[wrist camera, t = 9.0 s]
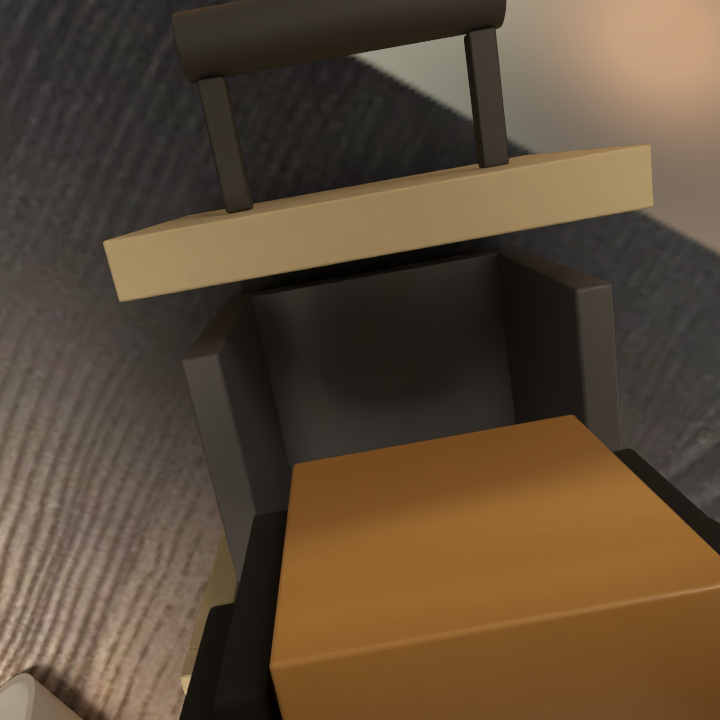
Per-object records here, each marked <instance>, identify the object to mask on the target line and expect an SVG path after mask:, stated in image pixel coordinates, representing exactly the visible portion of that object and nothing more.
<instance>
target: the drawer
mask: <svg viewBox="0 0 720 720" xmlns="http://www.w3.org/2000/svg"><path fill="white" fill-rule="evenodd" d="M505 12H506V0H243V1H237V2H232V3H226V4H220V5H215V6H209V7H203V8H198V9H192V10H187V11H181V12H175V13H173V14H172V29H173V35H174V40H175V45H176V49H177V53H178V56H179V60H180V63H181V66H182V68H183V71H184V73H185V76H186V77H187V79H188V81H189V82H191V83H195V82H197V85H198V90H199V94H200V99H201V103H202V107H203V112H204V116H205V121H206V125H207V130H208V134H209V139H210V143H211V148H212V152H213V157H214V161H215V166H216V170H217V175H218V179H219V184H220V188H221V193H222V197H223V202H224V206H225V209H222V210H216V211H211V212H205V213H199V214H194V215H188V216H185V217H181V218H178V219H175V220H172V221H168V222H165V223H162V224H158V225H155V226H152V227H149V228H145V229H142V230H139V231H136V232H132V233H129V234H126V235H122V236H119V237H116V238H113V239H109V240H106V241H104V242H103V245H104V249H105V252H106V256H107V259H108V263H109V267H110V270H111V274H112V277H113V281H114V285H115V288H116V292H117V295H118V299H119V301H120V302H125V301H130V300H136V299H141V298H147V297H153V296H158V295H164V294H169V293H175V292H181V291H186V290H192V289H197V288H203V287H209V286H214V285H220V284H225V283H231V282H237V281H242V280H248V279H253V278H259V277H264V276H270V275H276V274H281V273H287V272H292V271H298V270H304V269H309V268H315V267H320V266H326V265H332V264H337V263H343V262H348V261H354V260H360V259H365V258H371V257H376V256H382V255H388V254H393V253H399V252H404V251H410V250H416V249H421V248H427V247H432V246H438V245H444V244H449V243H455V242H460V241H466V240H472V239H477V238H483V237H488V236H494V235H500V234H505V233H511V232H516V231H522V230H528V229H533V228H539V227H544V226H550V225H555V224H561V223H567V222H572V221H578V220H583V219H589V218H595V217H600V216H606V215H611V214H617V213H623V212H628V211H634V210H639V209H645V208H650V207H652V206H653V193H652V192H653V191H652V169H651V147H650V145H649V144H641V145H631V146H620V147H609V148H598V149H587V150H577V151H565V152H555V153H543V154H532V155H524V156H519V157H513V158H509V155H508V145H507V136H506V126H505V116H504V107H503V97H502V88H501V78H500V69H499V58H498V49H497V40H496V29H497V28H500V27H501V26H502V24H503V21H504V17H505ZM463 34H467V35H466V36H464V44H465V53H466V62H467V70H468V79H469V88H470V96H471V104H472V113H473V122H474V131H475V139H476V148H477V156H478V164H474V165H468V166H463V167H457V168H451V169H446V170H440V171H435V172H429V173H423V174H418V175H412V176H407V177H401V178H395V179H390V180H384V181H379V182H373V183H367V184H362V185H356V186H351V187H345V188H339V189H334V190H328V191H323V192H317V193H311V194H306V195H300V196H295V197H289V198H283V199H278V200H272V201H267V202H261V203H255V204H253V201H252V196H251V192H250V187H249V182H248V177H247V173H246V168H245V163H244V158H243V154H242V149H241V144H240V139H239V135H238V130H237V125H236V121H235V116H234V111H233V106H232V102H231V97H230V92H229V87H228V83H227V80H226V79H225V78H224V77H228V76H234V75H239V74H245V73H251V72H256V71H262V70H268V69H273V68H279V67H284V66H290V65H296V64H301V63H307V62H312V61H318V60H324V59H329V58H335V57H340V56H346V55H352V54H357V53H363V52H368V51H374V50H380V49H385V48H390V47H397V46H402V45H408V44H413V43H418V42H425V41H430V40H435V39H441V38H447V37H453V36H458V35H463ZM181 364H182V368H183V372H184V376H185V380H186V384H187V388H188V391H189V395H190V399H191V403H192V407H193V411H194V415H195V419H196V422H197V426H198V430H199V434H200V438H201V442H202V446H203V450H204V453H205V457H206V461H207V465H208V469H209V473H210V477H211V481H212V484H213V488H214V492H215V496H216V500H217V504H218V508H219V512H220V515H221V519H222V523H223V527H224V531H225V535H226V539H227V543H228V546H229V550H230V554H231V558H232V562H233V566H234V570H235V574H236V577H237V581H238V585H239V583H240V578H241V574H242V569H243V564H244V560H245V555H246V550H247V546H248V541H249V537H250V532H251V527H252V523H253V518H254V516H255V515H260V514H266V513H271V512H277V511H282V510H288V506H289V497H290V489H291V480H292V472H293V466H294V465H295V464H298V463H304V462H310V461H315V460H321V459H326V458H332V457H338V456H343V455H349V454H354V453H360V452H366V451H371V450H377V449H382V448H388V447H394V446H399V445H405V444H410V443H416V442H421V441H427V440H433V439H438V438H444V437H449V436H455V435H461V434H466V433H472V432H477V431H483V430H489V429H494V428H500V427H505V426H511V425H517V424H522V423H528V422H533V421H539V420H545V419H550V418H556V417H561V416H567V415H574V416H575V417H576V418H577V419H578V420H579V421H580V422H581V423H582V424H583V425H584V426H585V427H586V428H587V429H589V430H590V431H591V432H592V433H593V434H594V435H595V436H596V437H597V438H598V439H599V440H600V441H601V442H602V443H603V444H604V445H605V446H606V447H607V448H608V449H609V450H610V451H611V452H612V451H618V450H622V440H621V424H620V409H619V394H618V378H617V363H616V347H615V332H614V317H613V301H612V286H611V284H610V283H608V282H605V281H602V280H600V279H597V278H595V277H592V276H589V275H587V274H584V273H582V272H579V271H577V270H574V269H571V268H569V267H566V266H564V265H561V264H558V263H556V262H553V261H551V260H548V259H546V258H543V257H540V256H538V255H535V254H533V253H530V252H527V251H525V250H522V249H521V248H518V247H516V246H509V247H504V248H498V249H493V250H487V251H481V252H476V253H470V254H465V255H459V256H453V257H448V258H442V259H437V260H431V261H425V262H420V263H414V264H409V265H403V266H397V267H392V268H386V269H381V270H375V271H369V272H364V273H358V274H353V275H347V276H342V277H336V278H330V279H325V280H319V281H314V282H308V283H302V284H297V285H291V286H286V287H280V288H274V289H269V290H263V291H258V292H252V293H246V294H241V295H235V296H231V297H229V299H228V300H227V302H226V303H225V304H224V306H223V307H222V308H221V310H220V311H219V312H218V313H217V315H216V316H215V317H214V319H213V320H212V321H211V322H210V324H209V325H208V326H207V328H206V329H205V330H204V332H203V333H202V334H201V335H200V337H199V338H198V339H197V341H196V342H195V343H194V344H193V346H192V347H191V348H190V350H189V351H188V352H187V354H186V355H185V356H184V357H183V359H182V360H181Z"/></svg>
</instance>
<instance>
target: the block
mask: <svg viewBox="0 0 720 720" xmlns="http://www.w3.org/2000/svg"><path fill="white" fill-rule="evenodd" d="M269 668H270V672H271V676H272V680H273V684H274V688H275V692H276V696H277V700H278V704H279V708H280V712H281V716H282V720H720V555H719V554H718V553H717V552H715V551H714V550H713V549H712V548H711V547H710V546H709V545H708V544H707V543H706V542H705V541H704V540H703V539H702V538H701V537H700V536H699V535H698V534H697V533H696V532H695V531H694V530H693V529H692V528H691V527H689V526H688V525H687V524H686V523H685V522H684V521H683V520H682V519H681V518H680V517H679V516H678V515H677V514H676V513H675V512H674V511H673V510H672V509H671V508H670V507H669V506H668V505H667V504H666V503H664V502H663V501H662V500H661V499H660V498H659V497H658V496H657V495H656V494H655V493H654V492H653V491H652V490H651V489H650V488H649V487H648V486H647V485H646V484H645V483H644V482H643V481H642V480H641V479H640V478H638V477H637V476H636V475H635V474H634V473H633V472H632V471H631V470H630V469H629V468H628V467H627V466H626V465H625V464H624V463H623V462H622V461H621V460H620V459H619V458H618V457H617V456H616V455H615V454H614V453H612V452H611V451H610V450H609V449H608V448H607V447H606V446H605V445H604V444H603V443H602V442H601V441H600V440H599V439H598V438H597V437H596V436H595V435H594V434H593V433H592V432H591V431H590V430H589V429H587V428H586V427H585V426H584V425H583V424H582V423H581V422H580V421H579V420H578V419H577V418H576V417H575V416H574V415H567V416H561V417H556V418H550V419H545V420H539V421H533V422H528V423H522V424H517V425H511V426H505V427H500V428H494V429H489V430H483V431H477V432H472V433H466V434H461V435H455V436H449V437H444V438H438V439H433V440H427V441H421V442H416V443H410V444H405V445H399V446H394V447H388V448H382V449H377V450H371V451H366V452H360V453H354V454H349V455H343V456H338V457H332V458H326V459H321V460H315V461H310V462H304V463H298V464H295V465H294V466H293V472H292V480H291V489H290V497H289V506H288V514H287V523H286V531H285V539H284V548H283V556H282V565H281V573H280V582H279V590H278V599H277V607H276V616H275V624H274V632H273V641H272V649H271V658H270V666H269Z"/></svg>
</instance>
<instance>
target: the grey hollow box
mask: <svg viewBox="0 0 720 720" xmlns="http://www.w3.org/2000/svg"><path fill="white" fill-rule="evenodd" d="M0 720H83V719H82V718H80V717H79V716H78V715H77V714H76V713H75V712H73V711H72V710H71V709H70V708H69V707H67V706H66V705H65V704H64V703H63V702H62V701H60V700H59V699H58V698H57V697H56V696H54V695H53V694H52V693H51V692H50V691H49V690H47V689H46V688H45V687H44V686H43V685H42V684H40V683H39V682H38V681H37V680H36V679H34V678H33V677H32V676H31V675H30V674H28V673H21V674H18V675H16V676H15V677H13V678H12V679H10V680H9V681H8V682H6V683H5V684H4V685H2V686H1V687H0Z"/></svg>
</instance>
